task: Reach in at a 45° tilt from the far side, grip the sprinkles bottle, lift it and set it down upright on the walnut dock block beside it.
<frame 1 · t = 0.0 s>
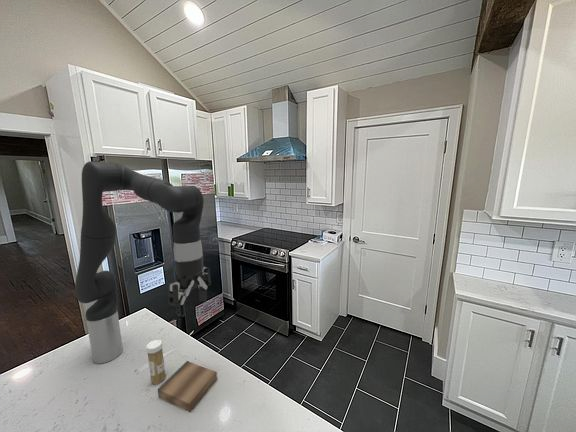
hand: (192, 307, 69), 29 cm above the countertop, tool pointing down, fingers open, 8 cm apart
sprinkles bottle: (158, 379, 79), on the countertop
walnut dock: (190, 388, 75), on the countertop
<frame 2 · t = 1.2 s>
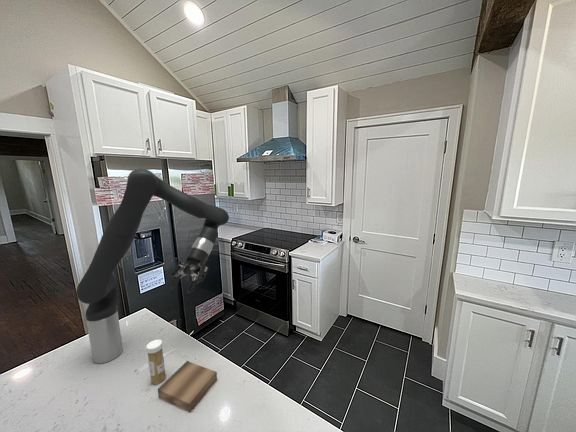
hand: (180, 290, 86), 27 cm above the countertop, tool tilted 45°, fingers open, 8 cm apart
nothing on the countertop moved.
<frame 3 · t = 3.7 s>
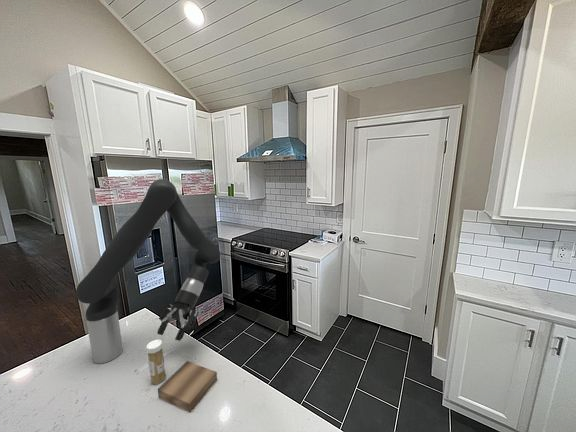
hand: (168, 337, 82), 12 cm above the countertop, tool tilted 45°, fingers open, 8 cm apart
nothing on the countertop moved.
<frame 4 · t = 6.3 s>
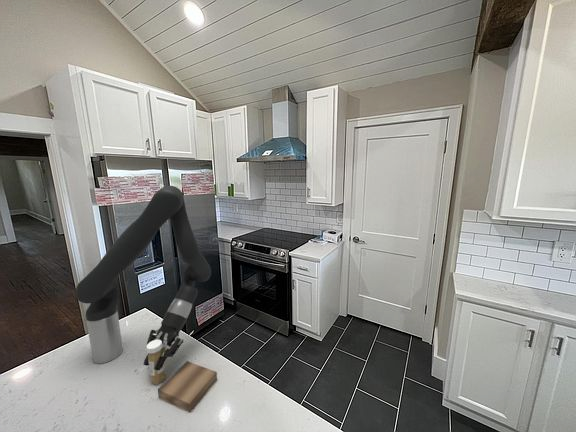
hand: (151, 367, 76), 6 cm above the countertop, tool tilted 45°, fingers closed on sprinkles bottle, 4 cm apart
sprinkles bottle: (158, 379, 79), on the countertop, touching gripper
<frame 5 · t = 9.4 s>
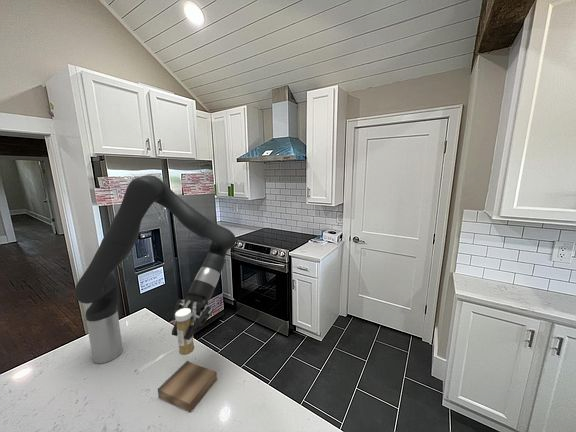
hand: (180, 337, 70), 20 cm above the countertop, tool tilted 45°, fingers closed on sprinkles bottle, 4 cm apart
sprinkles bottle: (186, 351, 73), point 14 cm above the countertop, touching gripper
when the fingers open (10 cm above the countertop, at t = 12.3 s): sprinkles bottle drops 1 cm, resting on walnut dock.
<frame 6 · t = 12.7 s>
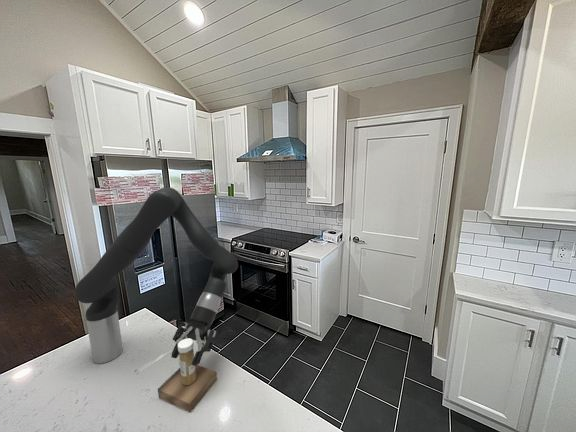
hand: (183, 361, 72), 11 cm above the countertop, tool tilted 45°, fingers open, 8 cm apart
sprinkles bottle: (188, 380, 75), point 3 cm above the countertop, touching walnut dock
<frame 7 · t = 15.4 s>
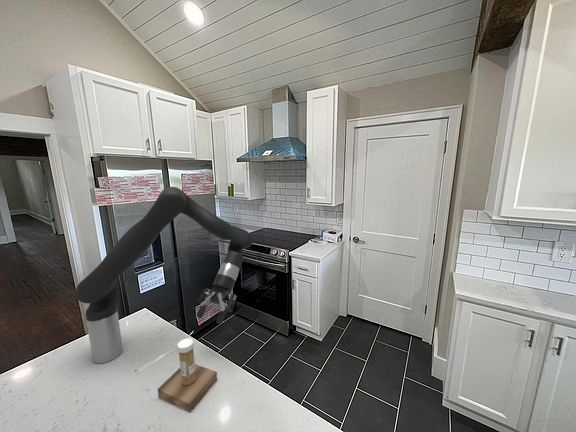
hand: (208, 320, 82), 18 cm above the countertop, tool tilted 45°, fingers open, 8 cm apart
nothing on the countertop moved.
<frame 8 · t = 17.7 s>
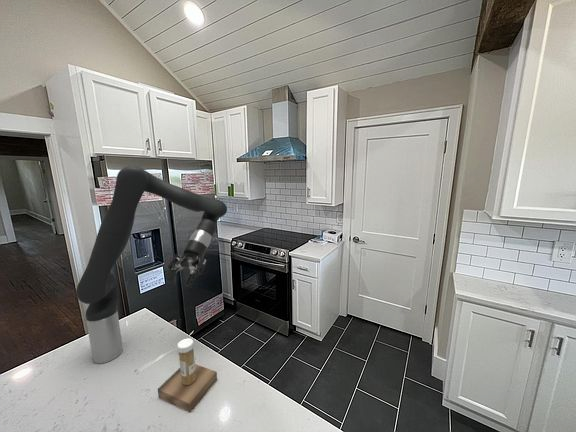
hand: (177, 283, 82), 31 cm above the countertop, tool tilted 45°, fingers open, 8 cm apart
nothing on the countertop moved.
at the end: sprinkles bottle inside the target area on the walnut dock (0.4 cm from its centre), point 2.8 cm above the walnut dock's base; sprinkles bottle tilted 0°; the gripper is holding nothing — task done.
